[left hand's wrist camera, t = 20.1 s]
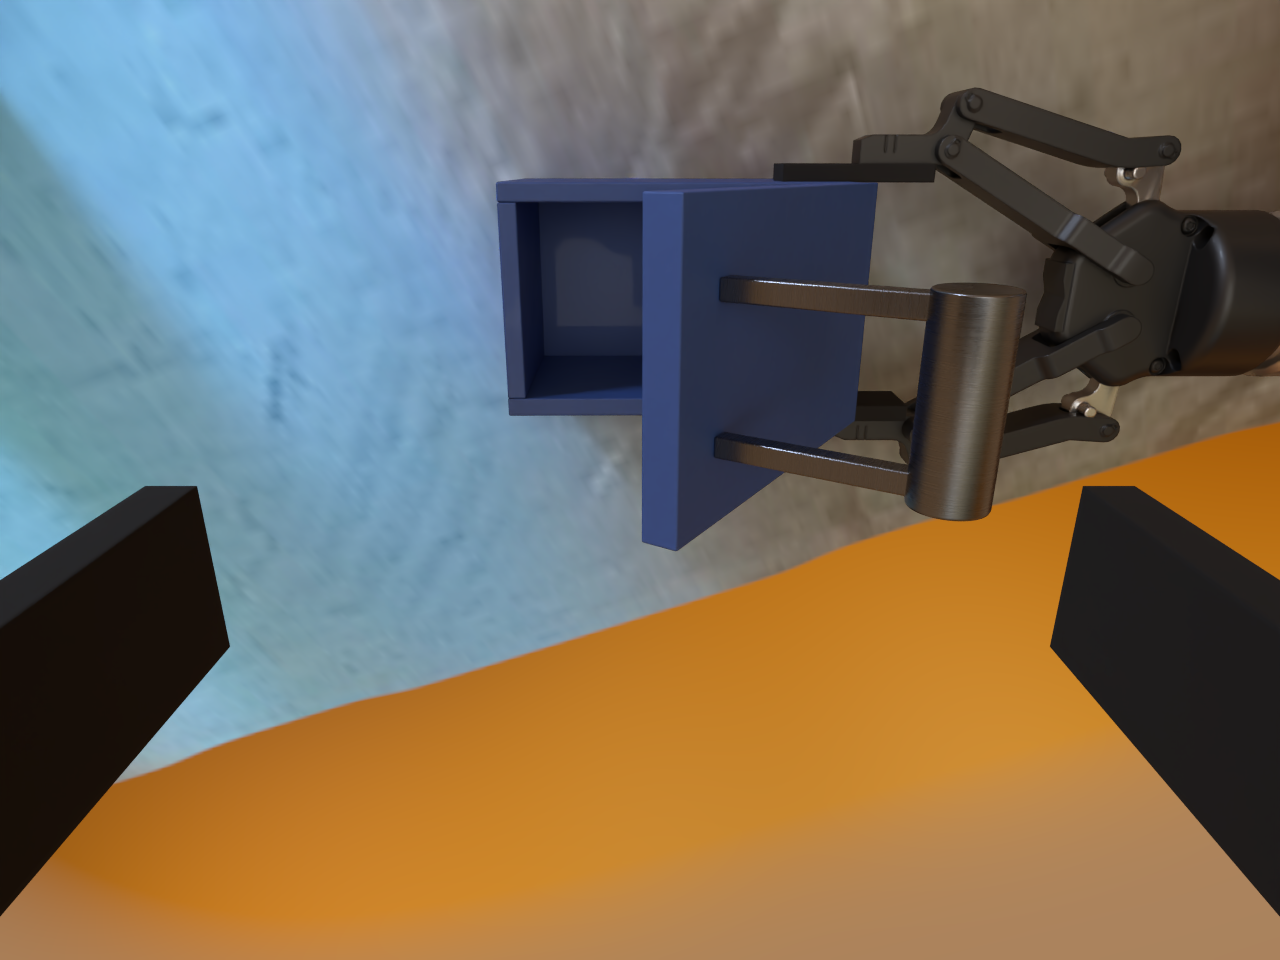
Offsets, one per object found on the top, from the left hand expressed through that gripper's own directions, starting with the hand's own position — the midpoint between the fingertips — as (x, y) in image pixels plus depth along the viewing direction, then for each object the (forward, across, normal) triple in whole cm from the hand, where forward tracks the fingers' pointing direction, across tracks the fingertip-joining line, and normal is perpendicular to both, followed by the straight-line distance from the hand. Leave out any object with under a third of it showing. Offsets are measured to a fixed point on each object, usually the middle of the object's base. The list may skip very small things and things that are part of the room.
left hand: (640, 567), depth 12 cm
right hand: (+28, +6, 0) cm, 28 cm away
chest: (+35, +1, 0) cm, 35 cm away
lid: (+18, +4, 0) cm, 19 cm away
